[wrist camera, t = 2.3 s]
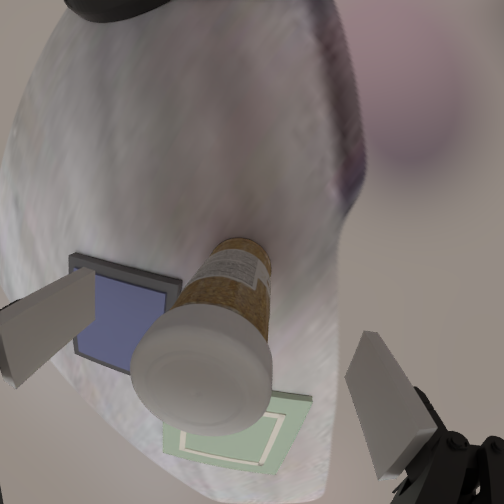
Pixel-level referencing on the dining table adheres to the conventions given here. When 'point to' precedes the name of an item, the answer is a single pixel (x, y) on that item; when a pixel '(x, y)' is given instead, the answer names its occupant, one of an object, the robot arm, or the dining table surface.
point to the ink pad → (121, 310)
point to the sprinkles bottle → (211, 347)
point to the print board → (246, 438)
